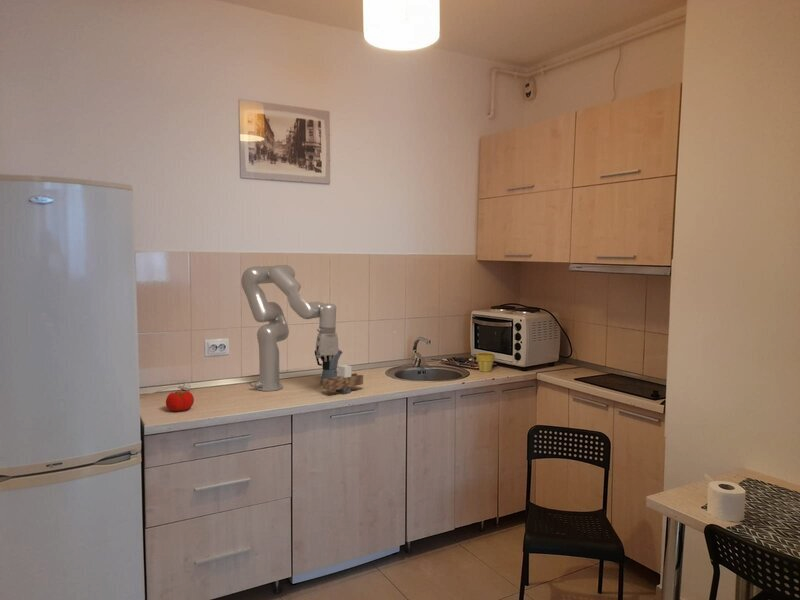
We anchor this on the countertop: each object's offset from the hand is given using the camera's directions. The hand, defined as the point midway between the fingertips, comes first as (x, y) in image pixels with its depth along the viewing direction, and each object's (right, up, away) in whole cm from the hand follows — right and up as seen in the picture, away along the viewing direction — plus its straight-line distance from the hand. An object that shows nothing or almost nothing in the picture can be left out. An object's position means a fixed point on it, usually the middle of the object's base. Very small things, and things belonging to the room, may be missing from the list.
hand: (325, 369), depth 254 cm
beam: (+7, -12, +7) cm, 16 cm away
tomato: (-58, -14, -25) cm, 65 cm away
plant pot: (+83, -9, +60) cm, 103 cm away
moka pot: (-2, -10, +25) cm, 28 cm away
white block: (+8, -7, +7) cm, 13 cm away
